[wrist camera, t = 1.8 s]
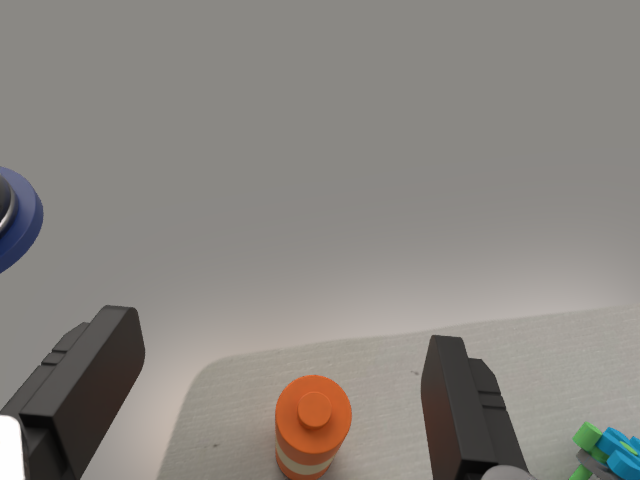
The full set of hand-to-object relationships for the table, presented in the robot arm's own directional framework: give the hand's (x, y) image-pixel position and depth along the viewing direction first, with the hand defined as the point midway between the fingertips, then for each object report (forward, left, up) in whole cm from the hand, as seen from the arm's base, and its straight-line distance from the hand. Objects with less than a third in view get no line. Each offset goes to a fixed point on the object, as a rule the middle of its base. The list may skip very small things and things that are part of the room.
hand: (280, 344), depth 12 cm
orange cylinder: (+1, +1, -19) cm, 19 cm away
